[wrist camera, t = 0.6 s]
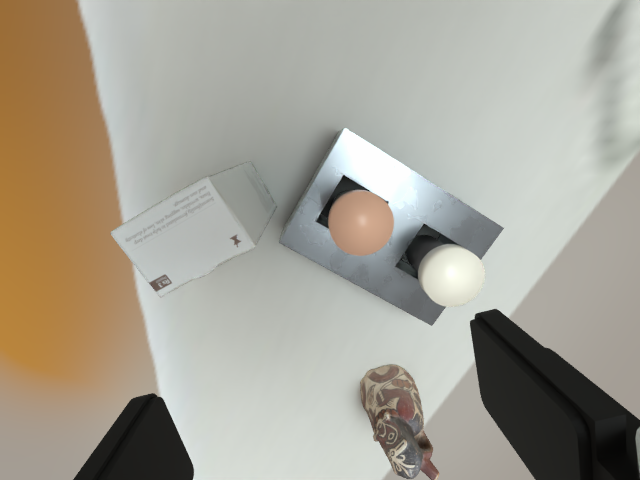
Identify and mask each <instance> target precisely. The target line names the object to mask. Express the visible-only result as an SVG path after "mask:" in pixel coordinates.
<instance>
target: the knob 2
mask: <svg viewBox="0 0 640 480" xmlns="http://www.w3.org/2000/svg"><path fill="white" fill-rule="evenodd" d="M406 257H407V259H408V261H409V262H410V264H411V265H412V266H413V267H414V268H415V269H416V270H417V271H418V280H419V283H420V285H421V287H422V289H423V290H424V291H425V292H426V293H427V295H428V296H429V297H430V298H431V299H432V300H433V301H434V302H435V303H437V304H439V305H442V306H446V307H457V306H461V305H464V304H466V303H468V302H470V301H471V300H472V299H474V298H475V297H476V296H477V295H478V293H479V292H480V291H481V289H482V287H483V284H484V281H485V269H484V266H483V263H482V261H481V260H480V259H479V258H478V257H477V256H476V255H475V254H473V253H472V252H470V251H468V250H467V249H465V248H464V247H462V246H459V245H455V244H445V245H444V244H443V243H441V242H440V241H438V240H437V239H436V238H434V237H432V236H430V235H420V236H417V237H415V238H414V239H413V240H412V242H411V243H410V245H409V246H408V248H407V249H406Z"/></svg>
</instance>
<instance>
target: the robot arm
mask: <svg viewBox="0 0 640 480" xmlns="http://www.w3.org/2000/svg"><path fill="white" fill-rule="evenodd" d="M470 328H471V334H472V341H473V347H474V354H475V361H476V367H477V374H478V381H479V387H480V394H481V398H482V401H483V404H484V406H485V408H486V409H487V411H488V412H489V414H490V415H491V417H492V418H493V419H494V421H495V422H496V424H497V425H498V427H499V428H500V430H501V431H502V432H503V434H504V435H505V437H506V438H507V440H508V441H509V442H510V444H511V445H512V447H513V448H514V449H515V451H516V452H517V454H518V455H519V457H520V458H521V459H522V461H523V462H524V464H525V465H526V467H527V468H528V469H529V471H530V472H531V474H532V475H533V477H534V478H535V479H536V480H640V420H639V419H638V418H637V417H635V416H634V415H632V414H631V413H630V412H629V411H628V410H627V409H625V408H624V407H623V406H621V405H620V404H619V403H618V402H616V401H615V400H614V399H613V398H612V397H610V396H609V395H608V394H607V393H605V392H604V391H603V390H602V389H600V388H599V387H598V386H596V385H595V384H594V383H593V382H592V381H590V380H589V379H588V378H587V377H585V376H584V375H583V374H582V373H580V372H579V371H578V370H577V369H575V368H574V367H573V366H572V365H570V364H569V363H568V362H566V361H565V360H564V359H563V358H561V357H560V356H559V355H558V354H557V353H555V352H554V351H552V350H551V349H549V348H544V347H543V346H542V345H540V344H539V343H538V342H537V341H536V340H534V339H533V338H532V337H531V336H529V335H528V334H527V333H526V332H525V331H523V330H522V329H521V328H520V327H518V326H517V325H516V324H515V323H514V322H512V321H511V320H510V319H509V318H507V317H506V316H505V315H504V314H503V313H501V312H500V311H499V310H497V309H493V310H489V311H485V312H481V313H477V314H476V315H475V319H474V320H471V321H470ZM193 476H194V469H193V464H192V462H191V460H190V458H189V455H188V453H187V451H186V449H185V446H184V444H183V442H182V440H181V438H180V435H179V433H178V431H177V429H176V427H175V424H174V422H173V420H172V418H171V415H170V413H169V411H168V409H167V407H166V404H165V402H164V400H163V399H162V398H161V397H157V395H156V394H153V393H152V394H148V395H143V396H140V397H136V398H133V399H131V401H130V402H129V403H128V404H127V406H126V407H125V409H124V410H123V412H122V413H121V414H120V415H119V417H118V418H117V420H116V421H115V422H114V424H113V425H112V427H111V428H110V429H109V431H108V432H107V434H106V435H105V436H104V438H103V439H102V441H101V442H100V443H99V445H98V446H97V448H96V449H95V450H94V452H93V453H92V454H91V456H90V457H89V459H88V460H87V461H86V463H85V464H84V465H83V467H82V468H81V470H80V471H79V472H78V474H77V475H76V477H75V478H74V479H73V480H193Z"/></svg>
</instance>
